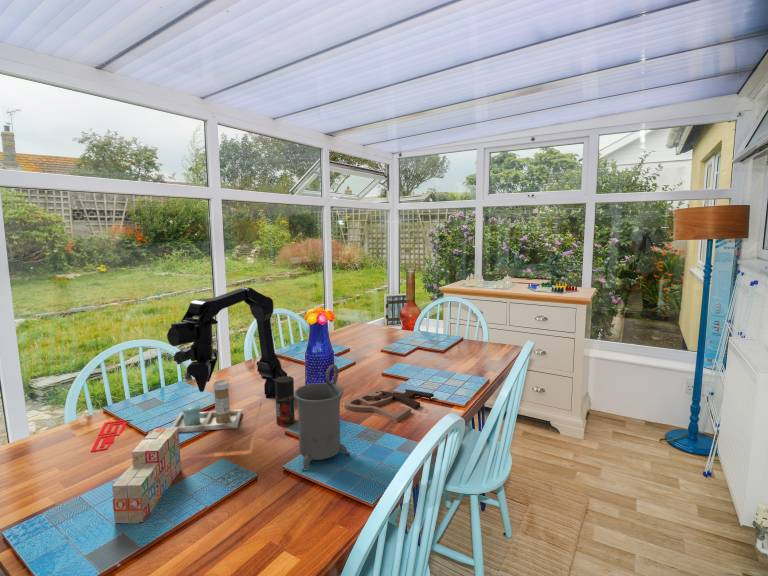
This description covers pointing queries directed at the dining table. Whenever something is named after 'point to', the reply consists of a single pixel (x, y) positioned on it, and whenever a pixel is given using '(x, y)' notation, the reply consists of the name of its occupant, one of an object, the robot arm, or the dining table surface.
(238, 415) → the caddy
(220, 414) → the sprinkles bottle
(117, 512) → the stack of blocks
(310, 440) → the grey footed bucket
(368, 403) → the wood carving
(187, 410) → the pot
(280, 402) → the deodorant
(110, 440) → the maze puzzle
